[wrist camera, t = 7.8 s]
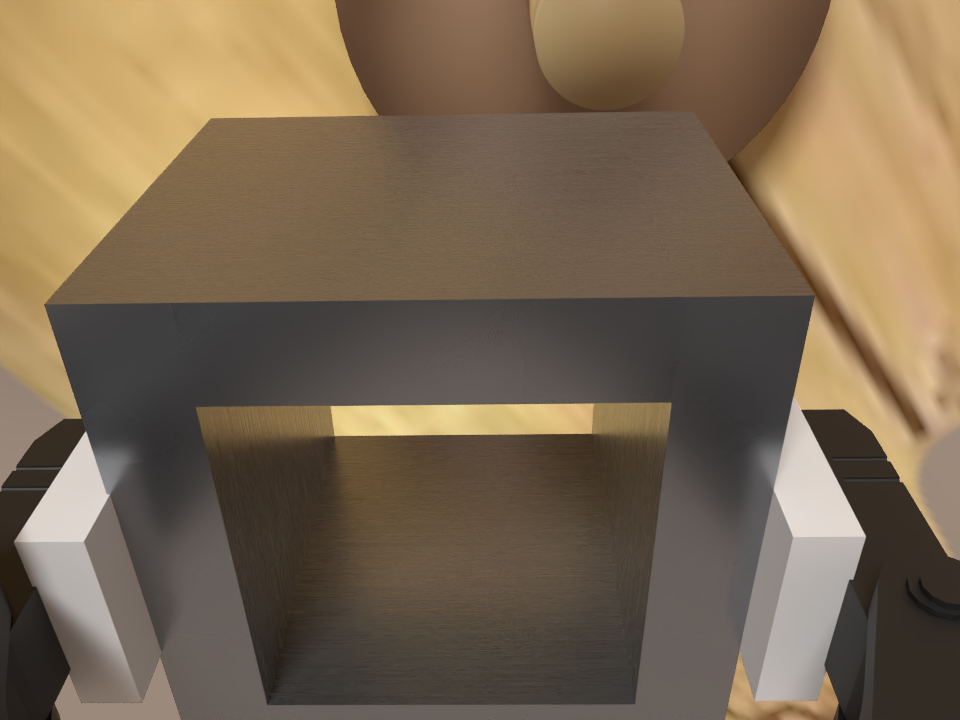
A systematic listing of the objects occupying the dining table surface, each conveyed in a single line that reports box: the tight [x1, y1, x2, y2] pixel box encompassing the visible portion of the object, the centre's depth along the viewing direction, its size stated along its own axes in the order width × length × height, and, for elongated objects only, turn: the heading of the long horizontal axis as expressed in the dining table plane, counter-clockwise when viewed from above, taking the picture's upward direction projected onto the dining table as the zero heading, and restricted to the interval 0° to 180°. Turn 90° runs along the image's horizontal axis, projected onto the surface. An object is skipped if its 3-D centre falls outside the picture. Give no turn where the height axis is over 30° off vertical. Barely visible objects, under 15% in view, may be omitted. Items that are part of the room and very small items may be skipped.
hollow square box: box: [44, 111, 815, 720], centre depth 13 cm, size 8×8×6 cm
